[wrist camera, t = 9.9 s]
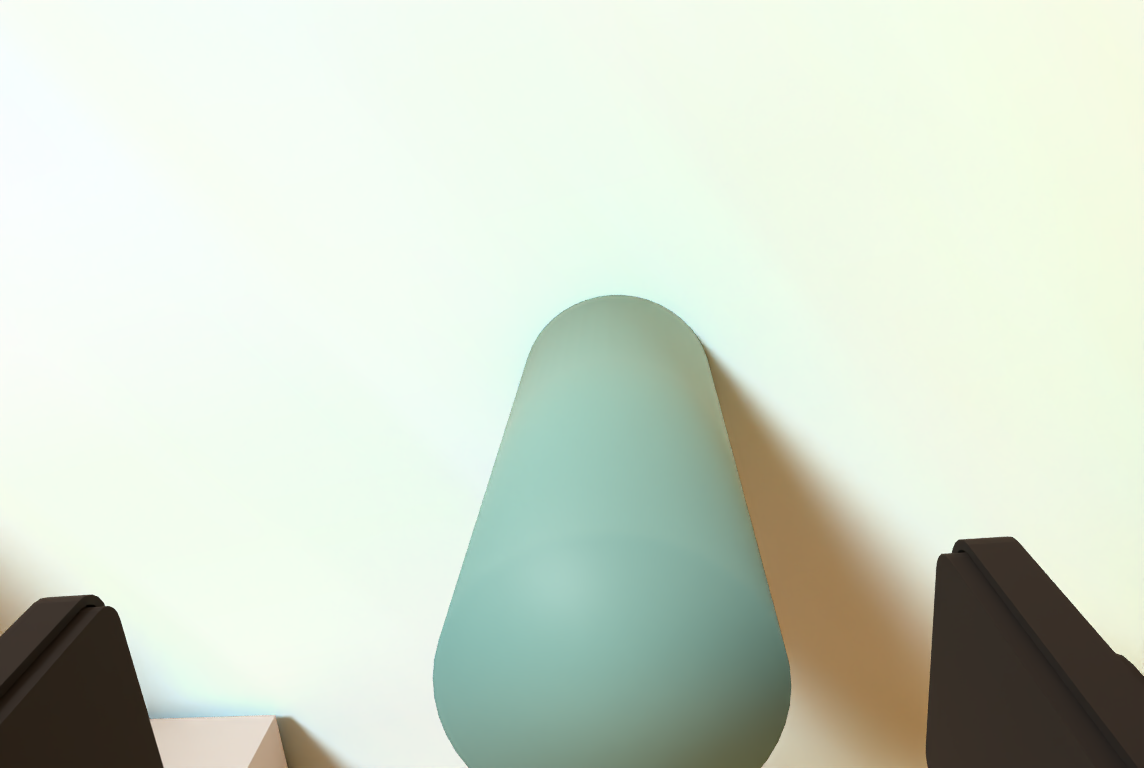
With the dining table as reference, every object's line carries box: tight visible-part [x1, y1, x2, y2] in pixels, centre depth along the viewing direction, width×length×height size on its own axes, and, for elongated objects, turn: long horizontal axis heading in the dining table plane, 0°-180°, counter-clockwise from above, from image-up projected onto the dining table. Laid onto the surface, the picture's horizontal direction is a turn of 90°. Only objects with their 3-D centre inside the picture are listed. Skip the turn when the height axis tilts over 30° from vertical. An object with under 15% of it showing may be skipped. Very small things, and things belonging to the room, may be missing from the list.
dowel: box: [433, 295, 791, 768], centre depth 15 cm, size 4×4×10 cm
